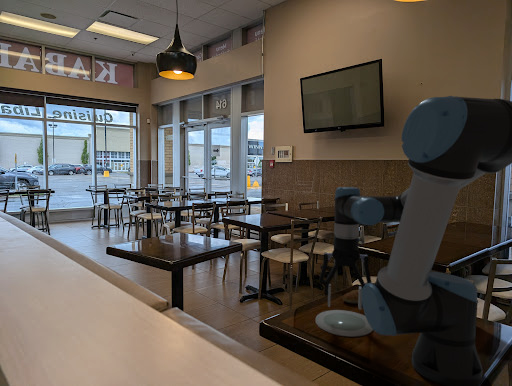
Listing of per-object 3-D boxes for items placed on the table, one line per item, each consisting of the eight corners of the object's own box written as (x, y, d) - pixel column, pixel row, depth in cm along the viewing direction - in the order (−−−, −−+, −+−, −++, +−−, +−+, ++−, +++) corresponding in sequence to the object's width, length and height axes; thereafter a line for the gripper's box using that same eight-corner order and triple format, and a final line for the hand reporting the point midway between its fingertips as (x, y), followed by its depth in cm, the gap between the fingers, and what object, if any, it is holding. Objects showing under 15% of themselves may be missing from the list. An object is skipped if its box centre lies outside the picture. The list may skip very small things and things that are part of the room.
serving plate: (377, 339, 101) (377, 337, 101) (314, 333, 105) (314, 331, 105) (370, 314, 119) (370, 312, 119) (316, 309, 123) (316, 307, 123)
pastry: (348, 305, 126) (349, 295, 125) (338, 298, 132) (339, 289, 132) (371, 302, 128) (371, 292, 128) (360, 296, 135) (360, 286, 135)
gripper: (380, 235, 112) (378, 305, 113) (311, 232, 116) (310, 299, 118) (384, 240, 104) (381, 314, 106) (310, 237, 109) (309, 308, 110)
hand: (344, 306), depth 112 cm, fingers open, 9 cm apart
